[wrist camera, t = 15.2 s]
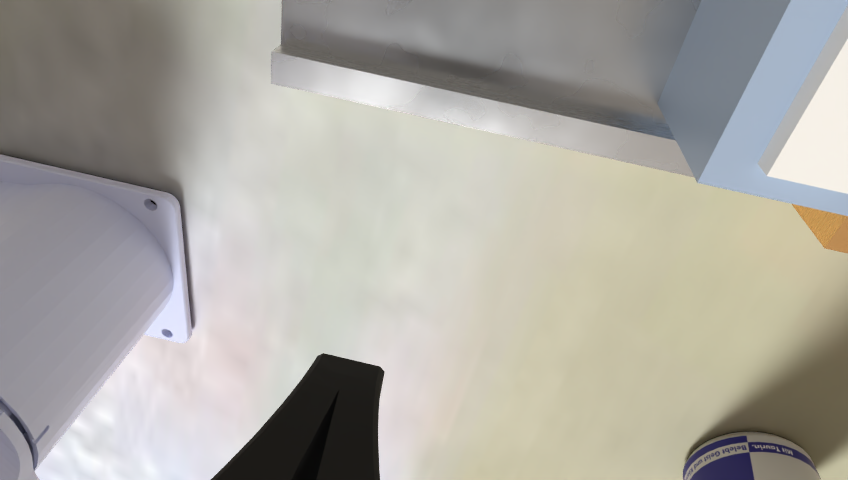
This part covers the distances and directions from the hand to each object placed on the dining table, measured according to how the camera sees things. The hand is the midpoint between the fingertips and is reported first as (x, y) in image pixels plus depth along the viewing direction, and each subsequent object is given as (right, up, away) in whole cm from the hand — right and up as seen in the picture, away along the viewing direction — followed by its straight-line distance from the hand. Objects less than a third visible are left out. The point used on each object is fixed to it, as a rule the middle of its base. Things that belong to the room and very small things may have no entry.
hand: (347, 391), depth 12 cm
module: (+11, +9, +3) cm, 15 cm away
